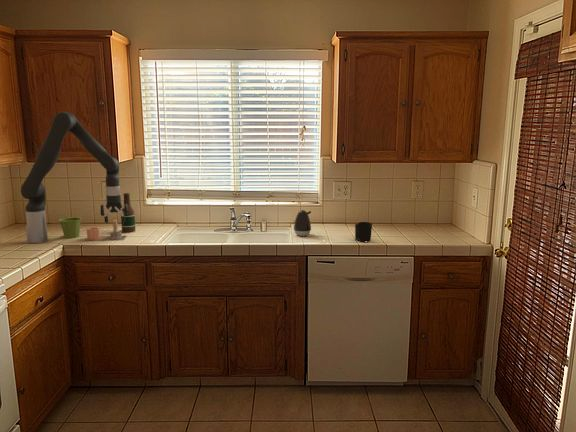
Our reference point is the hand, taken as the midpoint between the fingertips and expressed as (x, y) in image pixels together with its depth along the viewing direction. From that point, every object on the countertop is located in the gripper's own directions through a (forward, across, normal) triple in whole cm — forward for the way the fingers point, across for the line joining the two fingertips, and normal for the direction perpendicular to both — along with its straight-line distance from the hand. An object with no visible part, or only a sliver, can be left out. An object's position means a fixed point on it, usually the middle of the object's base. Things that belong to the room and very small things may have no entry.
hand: (115, 222), depth 255 cm
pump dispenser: (+10, +106, 0) cm, 107 cm away
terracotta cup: (+9, -12, 0) cm, 15 cm away
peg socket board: (+10, -5, 0) cm, 11 cm away
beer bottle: (+10, +4, +17) cm, 20 cm away
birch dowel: (+9, 0, 0) cm, 9 cm away
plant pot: (+10, -25, +6) cm, 28 cm away
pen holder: (+9, +139, -16) cm, 140 cm away
